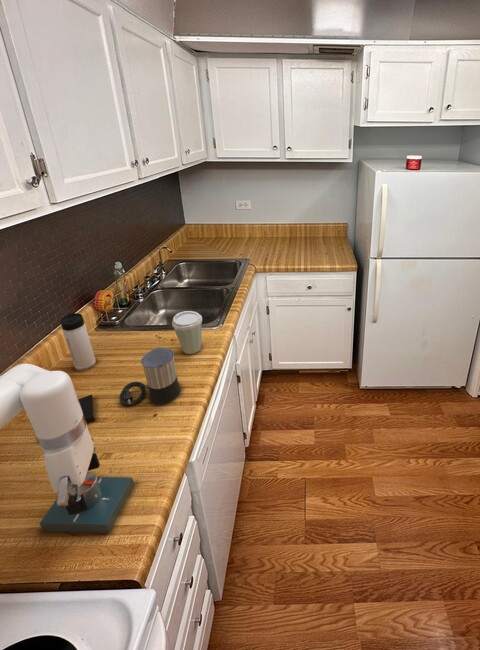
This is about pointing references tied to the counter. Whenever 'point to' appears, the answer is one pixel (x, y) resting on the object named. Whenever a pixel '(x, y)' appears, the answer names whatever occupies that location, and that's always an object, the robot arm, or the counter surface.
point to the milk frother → (156, 379)
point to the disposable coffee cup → (188, 330)
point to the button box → (88, 408)
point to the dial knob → (89, 489)
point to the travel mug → (78, 341)
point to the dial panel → (92, 509)
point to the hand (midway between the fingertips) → (85, 488)
